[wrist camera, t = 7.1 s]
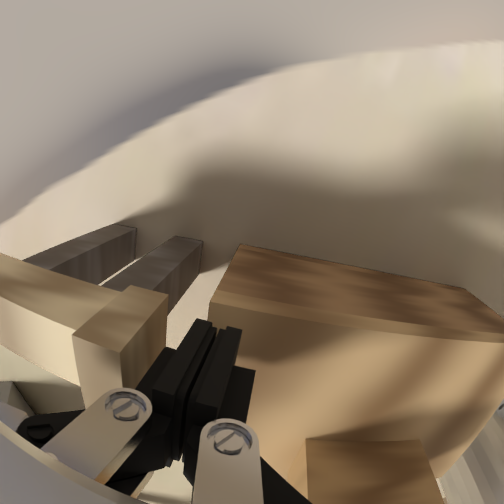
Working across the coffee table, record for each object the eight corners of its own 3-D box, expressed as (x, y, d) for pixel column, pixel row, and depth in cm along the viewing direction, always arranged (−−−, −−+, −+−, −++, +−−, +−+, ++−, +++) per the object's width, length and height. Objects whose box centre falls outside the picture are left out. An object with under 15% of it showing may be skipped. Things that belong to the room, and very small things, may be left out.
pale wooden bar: (168, 294, 11) (119, 352, 7) (165, 362, 12) (127, 428, 8) (-11, 241, 11) (-65, 262, 7) (-5, 296, 12) (-52, 324, 8)
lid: (514, 328, 13) (589, 400, 5) (433, 457, 16) (461, 535, 8) (220, 281, 13) (151, 414, 5) (198, 445, 16) (167, 548, 9)
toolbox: (464, 288, 19) (537, 347, 10) (410, 404, 23) (442, 481, 13) (113, 219, 20) (21, 254, 11) (113, 354, 24) (57, 423, 14)
